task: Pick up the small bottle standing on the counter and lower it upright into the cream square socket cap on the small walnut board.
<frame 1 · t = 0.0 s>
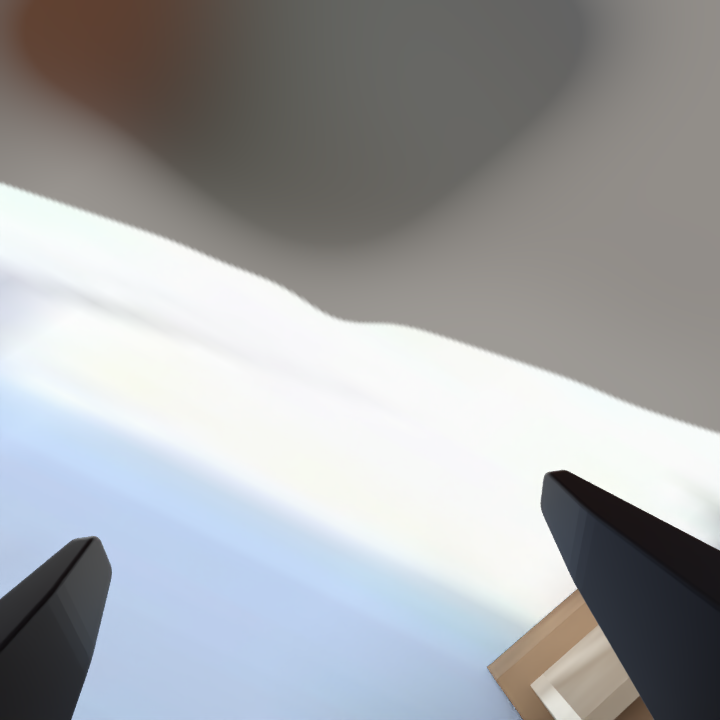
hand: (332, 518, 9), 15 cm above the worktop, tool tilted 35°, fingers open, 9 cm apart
socket board: (634, 688, 23), on the worktop
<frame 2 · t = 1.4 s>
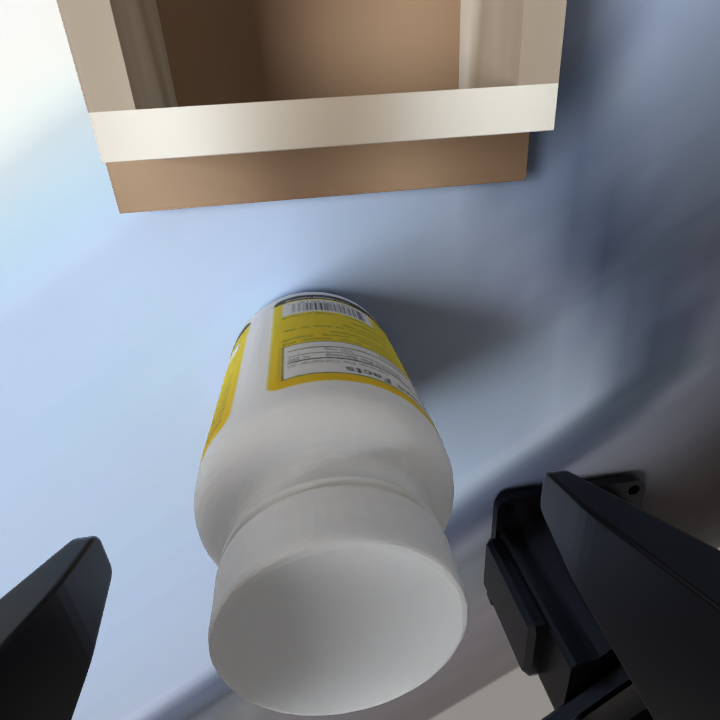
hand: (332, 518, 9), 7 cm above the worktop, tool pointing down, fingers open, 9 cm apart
supplement bottle: (314, 361, 16), on the worktop
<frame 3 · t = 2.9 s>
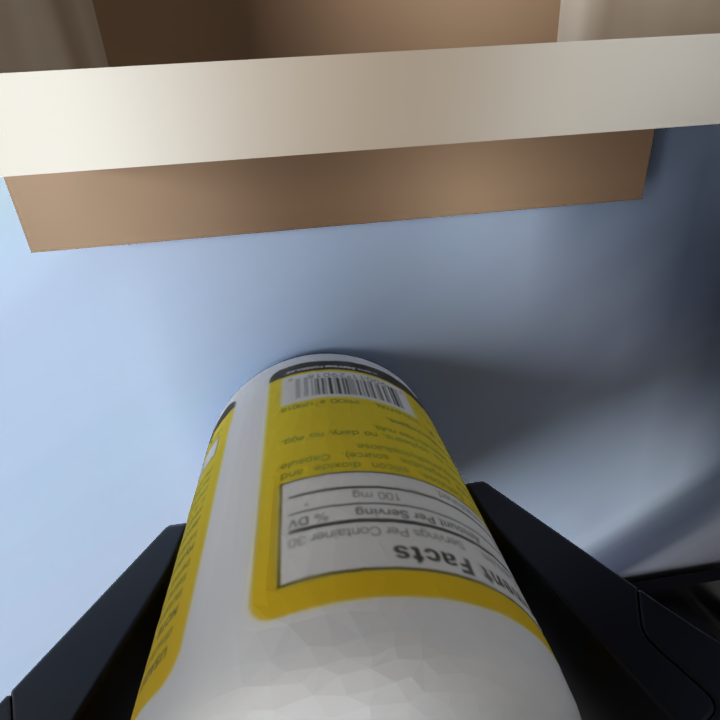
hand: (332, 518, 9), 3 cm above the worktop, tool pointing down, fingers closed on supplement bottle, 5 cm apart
supplement bottle: (324, 441, 12), on the worktop, touching gripper
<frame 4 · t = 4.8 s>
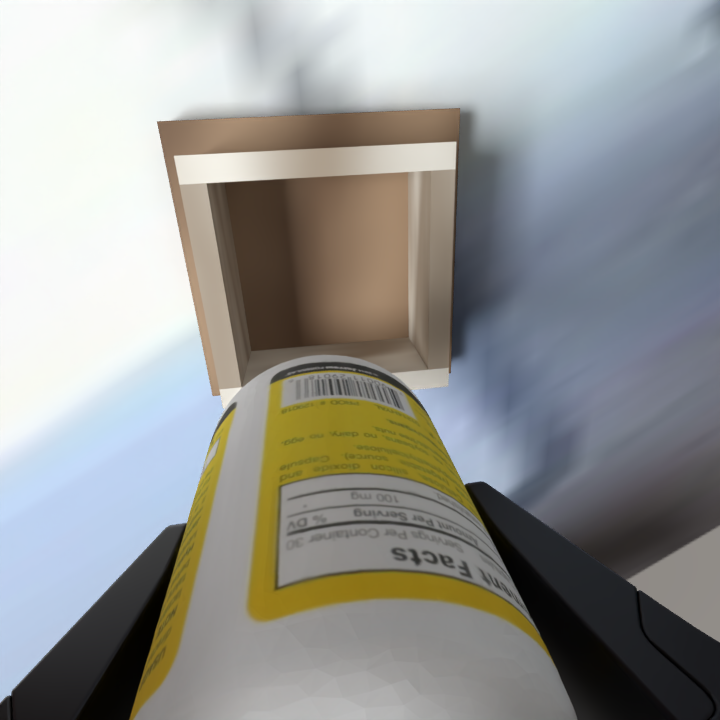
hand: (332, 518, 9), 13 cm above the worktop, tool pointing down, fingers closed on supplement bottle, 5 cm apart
socket board: (323, 259, 20), on the worktop
supplement bottle: (325, 441, 12), point 10 cm above the worktop, touching gripper
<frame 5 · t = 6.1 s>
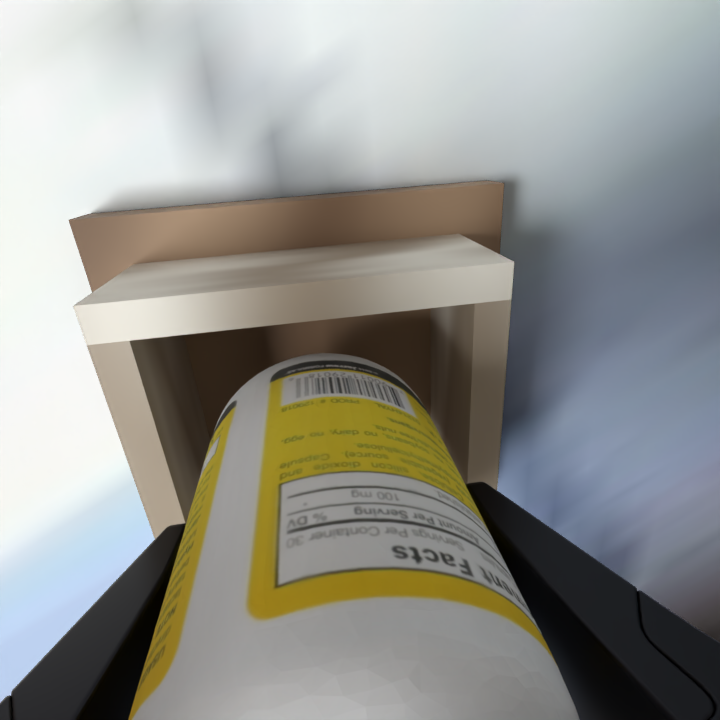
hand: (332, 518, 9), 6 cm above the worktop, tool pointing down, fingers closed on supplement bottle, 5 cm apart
socket board: (316, 373, 15), on the worktop
supplement bottle: (325, 440, 12), point 4 cm above the worktop, touching gripper
when the fingers open (6 cm above the worktop, at t = 7.0 s): supplement bottle drops 2 cm, resting on socket board.
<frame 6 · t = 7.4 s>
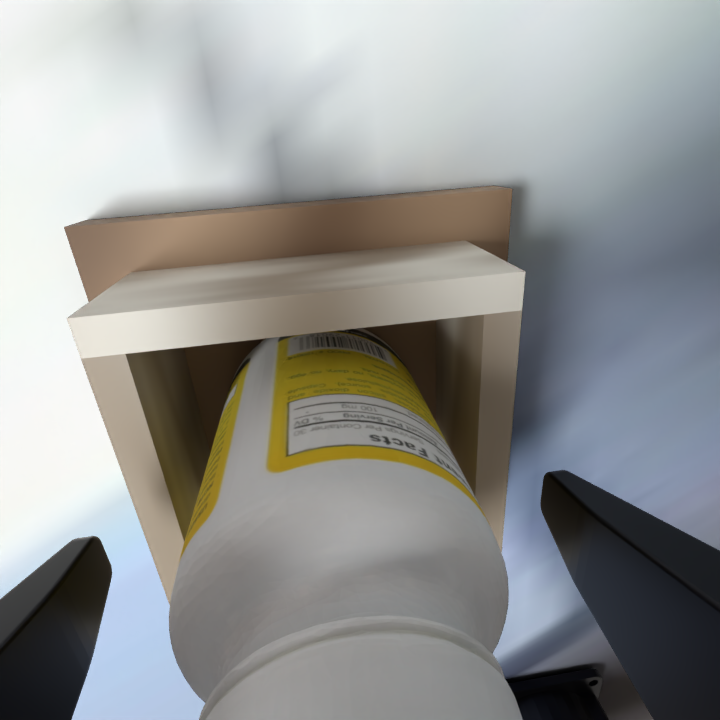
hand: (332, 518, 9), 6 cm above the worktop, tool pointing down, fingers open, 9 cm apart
socket board: (319, 382, 15), on the worktop
supplement bottle: (323, 399, 14), point 1 cm above the worktop, touching socket board
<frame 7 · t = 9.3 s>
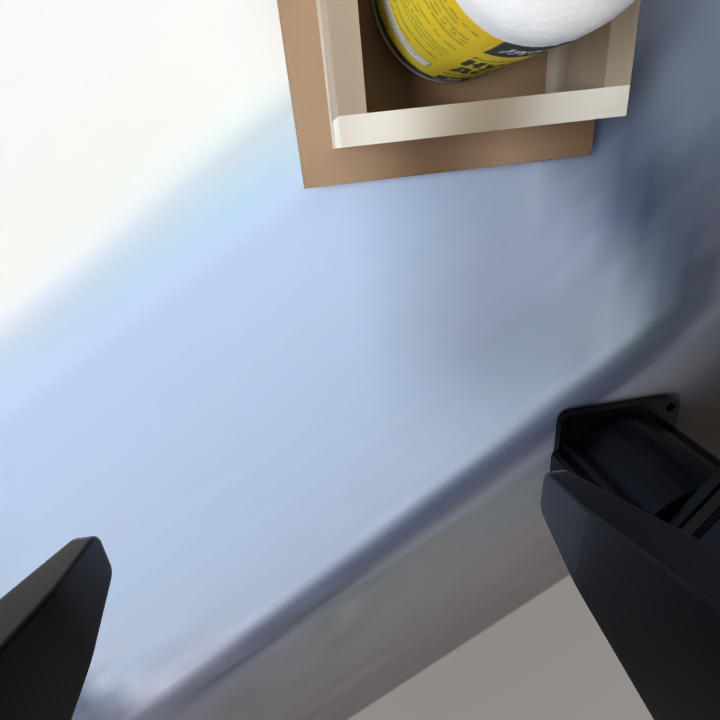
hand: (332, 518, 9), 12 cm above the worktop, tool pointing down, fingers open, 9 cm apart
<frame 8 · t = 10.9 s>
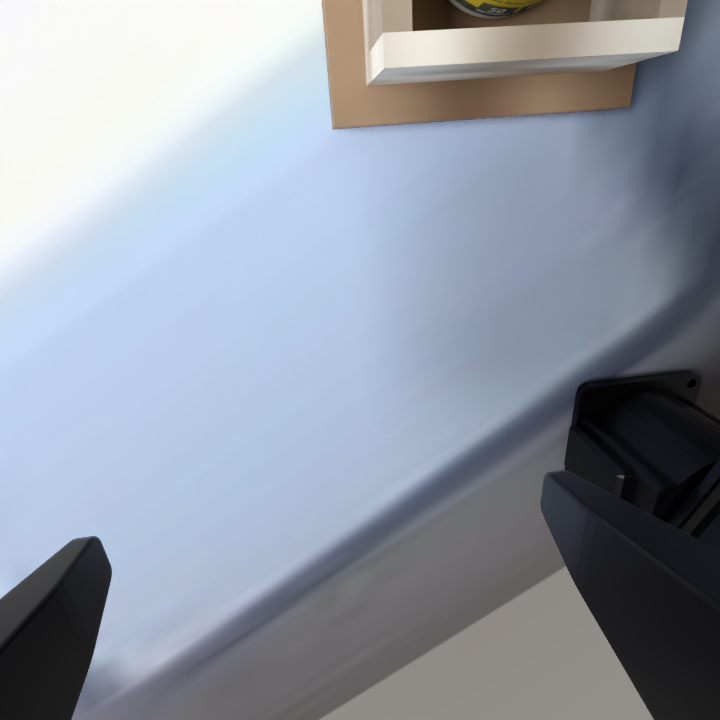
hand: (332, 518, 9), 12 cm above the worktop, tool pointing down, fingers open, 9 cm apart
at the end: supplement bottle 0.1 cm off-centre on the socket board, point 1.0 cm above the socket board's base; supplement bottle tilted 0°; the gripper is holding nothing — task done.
